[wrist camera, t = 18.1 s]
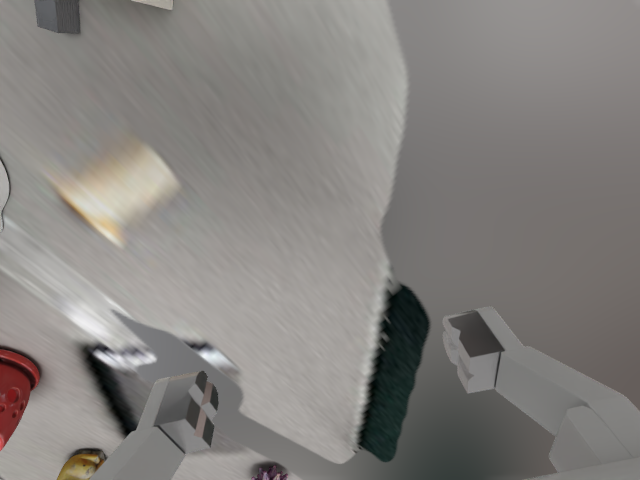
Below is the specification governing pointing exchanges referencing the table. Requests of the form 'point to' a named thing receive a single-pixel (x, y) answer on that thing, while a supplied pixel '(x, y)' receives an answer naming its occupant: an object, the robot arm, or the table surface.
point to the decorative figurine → (82, 465)
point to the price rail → (58, 15)
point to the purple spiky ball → (270, 475)
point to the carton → (158, 3)
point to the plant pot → (14, 390)
